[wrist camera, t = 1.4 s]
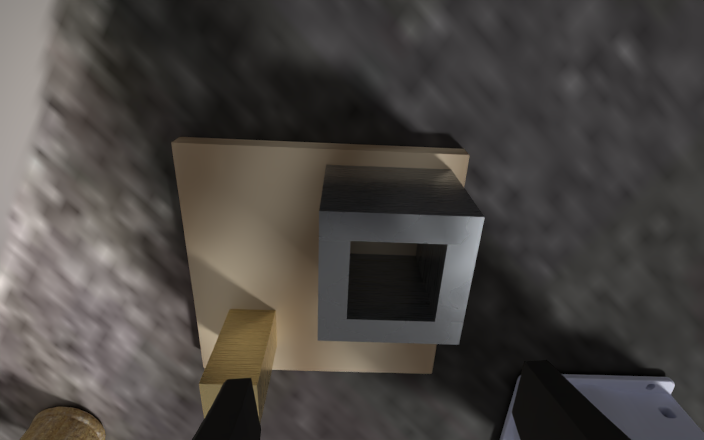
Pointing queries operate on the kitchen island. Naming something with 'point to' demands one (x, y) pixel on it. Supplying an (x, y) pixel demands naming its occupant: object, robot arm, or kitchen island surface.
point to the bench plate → (282, 241)
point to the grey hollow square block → (395, 270)
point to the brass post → (242, 355)
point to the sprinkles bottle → (64, 425)
